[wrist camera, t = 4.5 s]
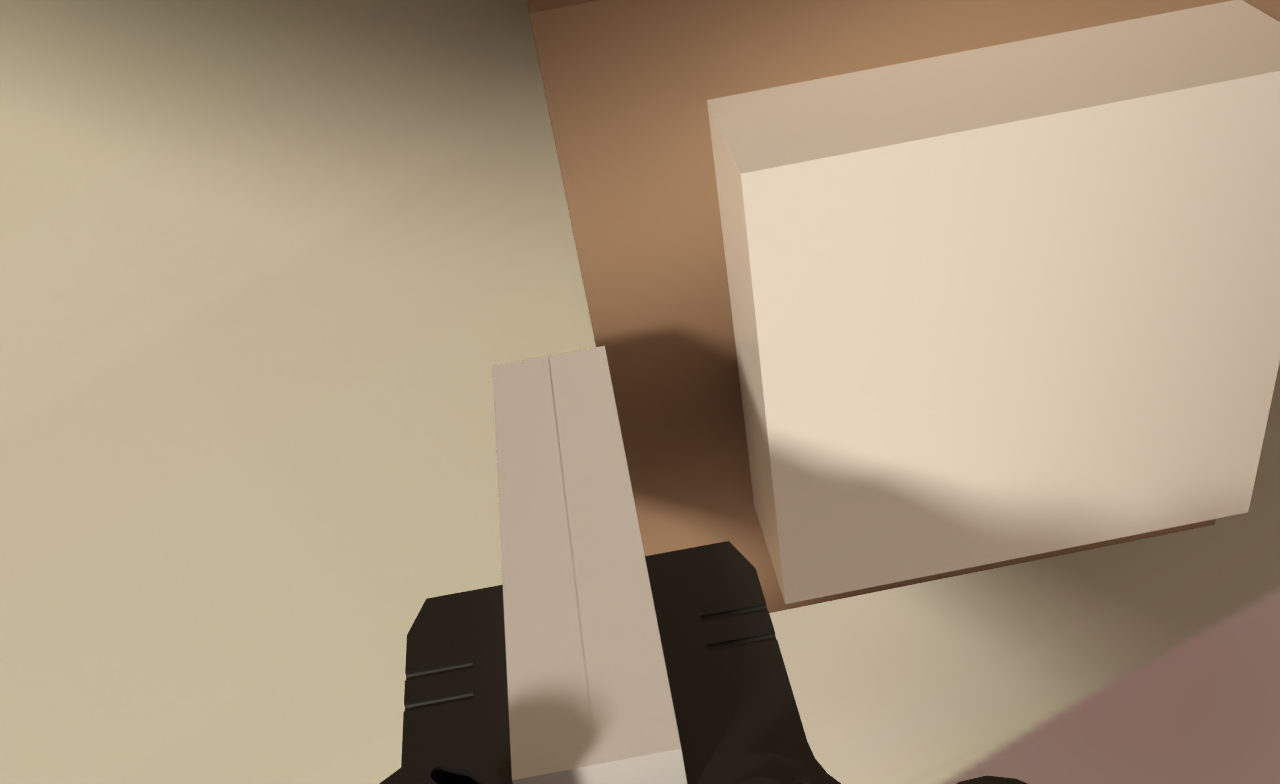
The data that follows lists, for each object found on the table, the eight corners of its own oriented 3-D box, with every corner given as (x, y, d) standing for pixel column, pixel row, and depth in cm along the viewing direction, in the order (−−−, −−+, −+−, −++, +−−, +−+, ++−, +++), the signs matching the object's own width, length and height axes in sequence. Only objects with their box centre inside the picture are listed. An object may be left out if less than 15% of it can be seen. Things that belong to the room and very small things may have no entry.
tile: (706, 100, 15) (740, 173, 14) (1240, -2, 16) (1343, 58, 14) (754, 506, 19) (785, 603, 18) (1175, 423, 20) (1248, 512, 18)
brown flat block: (514, -74, 18) (528, 13, 14) (1178, -198, 18) (1338, -138, 15) (627, 488, 24) (653, 635, 21) (1113, 393, 24) (1214, 524, 21)
